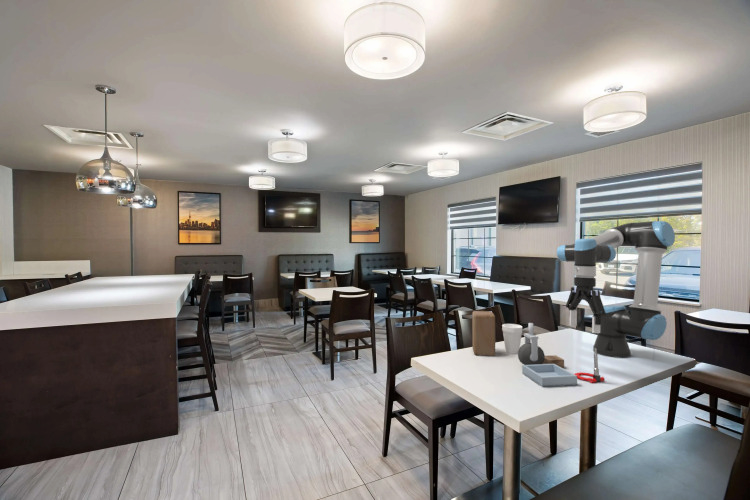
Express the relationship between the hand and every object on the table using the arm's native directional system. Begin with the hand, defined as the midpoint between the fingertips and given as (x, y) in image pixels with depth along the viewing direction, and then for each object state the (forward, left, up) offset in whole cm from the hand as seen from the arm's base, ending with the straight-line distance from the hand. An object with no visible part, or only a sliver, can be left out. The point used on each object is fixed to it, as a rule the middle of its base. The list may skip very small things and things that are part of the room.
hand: (584, 329), depth 139 cm
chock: (+6, -12, -19) cm, 23 cm away
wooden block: (+28, -34, -19) cm, 48 cm away
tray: (+17, +2, -19) cm, 25 cm away
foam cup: (+13, -34, -19) cm, 41 cm away
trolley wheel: (+16, -12, -19) cm, 27 cm away
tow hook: (+1, +3, -19) cm, 19 cm away
